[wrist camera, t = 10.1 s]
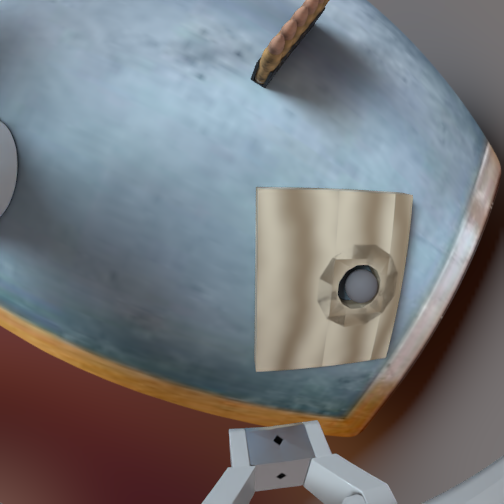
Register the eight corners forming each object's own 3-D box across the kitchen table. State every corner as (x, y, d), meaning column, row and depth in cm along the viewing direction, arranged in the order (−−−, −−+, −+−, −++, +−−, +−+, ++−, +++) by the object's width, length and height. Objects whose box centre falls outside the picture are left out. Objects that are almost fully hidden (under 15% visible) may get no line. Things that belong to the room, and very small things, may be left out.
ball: (363, 293, 38) (337, 297, 37) (367, 263, 37) (340, 266, 36) (381, 305, 34) (354, 310, 33) (386, 273, 33) (358, 277, 32)
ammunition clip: (300, 16, 27) (331, -37, 16) (314, 24, 28) (350, -25, 16) (250, 79, 29) (263, 37, 18) (264, 88, 30) (285, 50, 18)
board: (254, 360, 39) (256, 371, 36) (255, 187, 33) (258, 188, 30) (378, 348, 40) (385, 357, 38) (402, 192, 34) (412, 195, 32)
